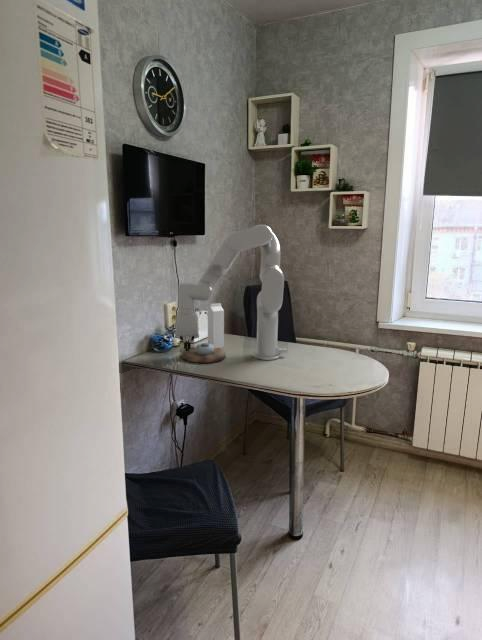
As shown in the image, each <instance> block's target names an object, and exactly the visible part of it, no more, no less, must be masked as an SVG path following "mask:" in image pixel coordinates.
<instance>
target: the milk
mask: <svg viewBox="0 0 482 640" xmlns="http://www.w3.org/2000/svg"><path fill="white" fill-rule="evenodd" d="M207 343H208V344H212V345H214V348H219V349H224V346H225V309H224V308H223V307H222V303H221V302H219V303H218V302H217V303H210V305H209V307H208V309H207Z"/></svg>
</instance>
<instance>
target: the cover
mask: <svg viewBox="0 0 482 640" xmlns="http://www.w3.org/2000/svg"><path fill="white" fill-rule="evenodd" d="M195 347H196V353H197V354H199V355H211V354H213V353H214V345H212V344H208V342H203V343H199V344H196V346H195Z"/></svg>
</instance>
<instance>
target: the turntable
mask: <svg viewBox="0 0 482 640" xmlns="http://www.w3.org/2000/svg"><path fill="white" fill-rule="evenodd" d="M226 356H227V353H226V351H225V350H224V349H223V348H214V353H213V354H211V355H199V354H197V353H196V346H195V347H191V349H189V351H186V350H185V349H184V350H183V351H182V352H181V357H182V359H184V360H185V361H187V362H192V363H200V364H201V363H206V364H207V363H214V362H220V361H222V360H224V359H225V358H226Z"/></svg>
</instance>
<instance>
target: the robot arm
mask: <svg viewBox="0 0 482 640" xmlns="http://www.w3.org/2000/svg"><path fill="white" fill-rule="evenodd" d="M255 248H260V252H261V253H260V254H261V255H260V257H261V259H260V268H259V269H260V271H259V280H260V281H261V290H260V291H259V292H258V294H257V295H256V311H257V313H256V351H254V352H253V354H252V356H253V358H255V359H257V360H263V361H272V360H277V359H279V358H281V354H287V353H288V349H287V348H284V347H278V331H279V329H278V328H279V310H281V308H282V305H283V301H284V290H285V289H284V288H285V277H284V272H283V271H282V269H281V245H280V242H279V240H278V238H277V236H276V234H275V233H274V232H273V230H272V228H271V226H268V225H267V224H257V225H255V226H253V227H249V228H246V229H242V230H238V231H230V232H229V233H228V234H227V236H226V237H225V238H224V240H223V242H222V244H221V245H220V246H219V248H218V250H217V251H216V254H215V255H214V256H213V257H212V260H210V261H211V262H210V263H209V265H208V266H207V269H206V270H205V272H204V273H203V275H202V277H201V278H200V280H199V281H198V283H197V284H195V283H192V282H183V283H180V284H178V289H177V290H178V292H177V293H178V294H177V295H178V312H177V314H176V317H175V318H176V319H175V335H174V336H175V339H180V340H181V341H182V342H183V349H184V350H186V351H189V349H191V348H192V347H191V345H192V344H191V343H192V341H194V340H195V339H198V338H200V335H199V334H200V333H199V329H200V328H199V316H198V313H197V312H199V310H200V309H199V307H196V306H197V305H196V301H201V302H202V301H203V302H205V301H209V300H210V299H212V297H213V293H214V292H213V291H214V289H215V287H216V286H217V284H218V283H219V282H220V280H221V278H222V277H223V276H224V275H225V274H227V272H228V271H229V270H230V269H231V267H232V266H233V264H234V262H235V261H236V259H237V257H238V256H239V254H240V253H241V252H245V251H248V250H252V249H255ZM187 337H188V340H187Z"/></svg>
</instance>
